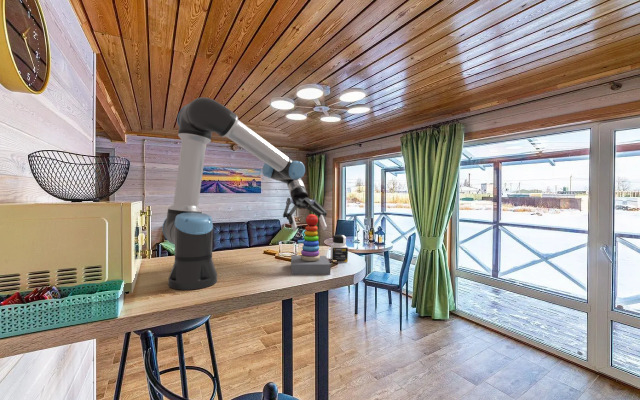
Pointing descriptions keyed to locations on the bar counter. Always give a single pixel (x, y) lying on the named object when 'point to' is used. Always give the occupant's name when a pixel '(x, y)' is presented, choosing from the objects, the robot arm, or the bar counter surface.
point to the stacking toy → (310, 240)
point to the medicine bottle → (339, 249)
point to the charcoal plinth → (310, 266)
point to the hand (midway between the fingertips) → (310, 228)
